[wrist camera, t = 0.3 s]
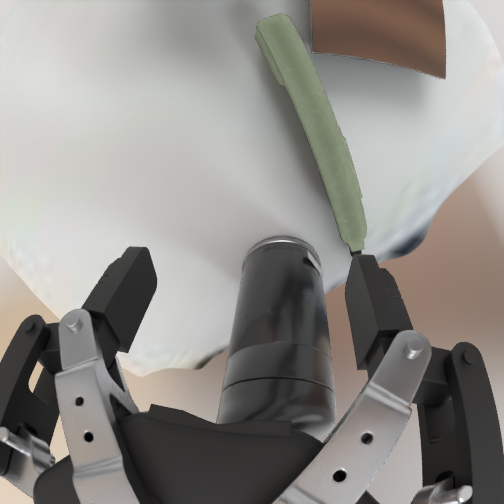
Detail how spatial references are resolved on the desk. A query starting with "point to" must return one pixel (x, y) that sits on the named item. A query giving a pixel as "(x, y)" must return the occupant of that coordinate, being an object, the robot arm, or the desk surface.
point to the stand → (382, 32)
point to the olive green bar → (316, 124)
